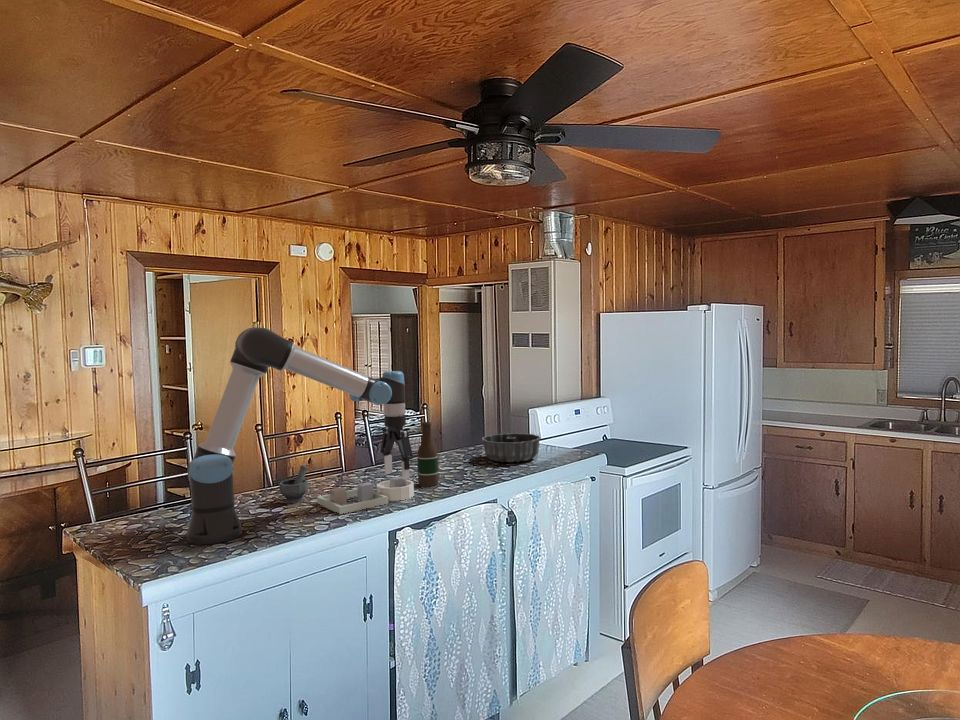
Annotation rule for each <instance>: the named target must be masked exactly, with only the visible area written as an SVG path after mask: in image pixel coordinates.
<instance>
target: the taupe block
mask: <svg viewBox="0 0 960 720" xmlns="http://www.w3.org/2000/svg"><path fill="white" fill-rule="evenodd" d="M346 491H347V488H344V487H342V486H341V487H336V488H332V489H331V488H330V489H329V494H330V501H332V502H334V503H336V504H338V505H340V506H343V505H348V500H347V499H348V498H347V494H346Z"/></svg>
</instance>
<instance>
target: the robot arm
mask: <svg viewBox="0 0 960 720" xmlns="http://www.w3.org/2000/svg"><path fill="white" fill-rule="evenodd" d="M234 344H235V346H234V350H233V353H232V355H231V358H230V361H229V363H230V365H231V367H232V369H231V372H230V375H229V378H228V381H227V382H226V386H225V389H224V391H223V393H222V397H221V399H220V401H219V404H218V407H217V409H216V412H215V414H214V417H213V420H212V423H211V425H210V428H209V431H208V433H207V437H206V439H205V440H204V441H202V442H201V443H199V444H198V446H197V448H196V451H195V454H194V455H193V458H192V459H191V461H190V462H189V464H188V466H187V478H188V481H189V484H190V485H189V486H190V499H191V500H190V501H191V502H190V503H191V517H190V520H189V524H188V526H187V527H188V528H187V531H186V541H187V542H188V543H190V544H192V543H193V544H192V545H213V544H215V545H216V544H220V543H221V544H222V543H225V542H228V541H229V542H230V541H231V540H234V539H236V538H238V537H240V536H241V535H242V533H243V529H242V524H241V521H240V518H239V516H238V514H237V511H236V508H235V495H234V494H235V492H234V475H233V473H234V472H233V471H234V465H233V464H234V461H235V458H236V456H237V454H236V452H235V450H234V447H235V445H236V442H237V439H238V437H239V434H240V431H241V429H242V426H243V423H244V420H245V418H246V416H247V415H246V414H247V412H248V409H249V407H250V404H251V402H252V399H253V397H254V393H255V391H256V388H257V386H258V384H259V380H260V378H261V377H263V376H265V375H267V372H268V370H269V368H273V369H276V370H278V371H285V370H287V371H290V372H293V373H295V374H297V375H300V376H302V377H306V378H307V379H311V380H313V381H316V382H318V383H321V384H323V385H326V386H328V387H331V388H333V389H336V390H339V391H341V392H344V393H346V394H348V396H349V399H350V400H351V401H352V402H361V401H362V402H364V401H365V402H369V403H372V404H374V405H376V406H379V405H381V406H382V405H383V414H384V417H383V421H384V423H383V424H384V427H382V438H381V444H380V445H381V446H380V450H379V451H380V453H381V454H382V455H383V458H384V460H383V461H384V474H385V475H388V474H392V473H393V455H392V450H393V447H394V444H396V445H397V448H398V451H399V453H400V456H401V462H400V464H401V476H402V479H406V480H410V478H411V477H410V468H411V467H410V460H412V459H414V454H413V451H412V446H411V441H410V434H409V433H410V432H409V430H404V426H406V425H407V424H406V423H407V421H406V420H407V419H406V415H405V413H406V394H405V393H406V391H405V387H406V386H405V385H406V383H405V375H404V373H403V372H402V371H401V370H400V371H399V370H392V371H391V370H388V371H384V372H382V376H381V377H376V378H373V377H370V376H368V375H365V374H363V373H362V372H361V373H360V372H359V371H356V370H353V369H351V368H348V367H346V366H345V365H342V364H339V363H337V362H334V361H332V360H329V359H328V358H327V359H326V358H324V357H322V356H320V355H317V354H315V353H312V352H310V351H308V350H304V349H303V348H300V347H297V346H296V345H295V343H294V341H292V340H289V339H287V338H285V337H283V336H281V335H279V334H277V333H275V332H274V331H272V330H270V329H268V328H265V327H260V326H259V327H258V326H257V327H255V326H254V327H250V328H249V327H248V328H246V329H244V330H243V331H241V333H239V335H238V336H237V337H236V341H235V343H234Z"/></svg>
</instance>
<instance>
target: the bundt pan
mask: <svg viewBox="0 0 960 720" xmlns="http://www.w3.org/2000/svg"><path fill="white" fill-rule="evenodd" d="M540 440H541V436H540V435H536V434H534V433H533V434H531V433H518V432H517V433H515V432H512V433H511V432H510V433H499V434H498V433H497V434H490V435H485V436H483V437H482V438H481V441H482V442H483V449H484V453H485V456H486V457H487V458H488V460H490V461H493V460H494V462H500V463H505V462H506V463H513V462H515V463H519V462H526V461H531V460H533V459H534V458H535V457H536V456H537V455H538V453H539V446H540Z"/></svg>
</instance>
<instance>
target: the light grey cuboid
mask: <svg viewBox="0 0 960 720" xmlns="http://www.w3.org/2000/svg"><path fill="white" fill-rule="evenodd" d="M356 486H357V488H356V489H358V496H357V501H358V502H362V501H367V500H372V499H374V492H375V489H374V488H375V487H374V486H375V485H374V483H372V482H363V483H359V484H358V483H357V484H356Z"/></svg>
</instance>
